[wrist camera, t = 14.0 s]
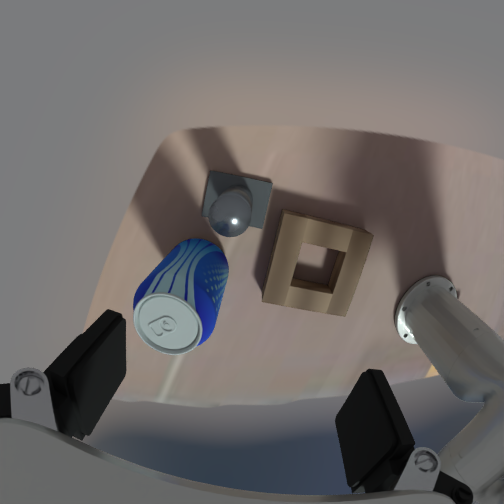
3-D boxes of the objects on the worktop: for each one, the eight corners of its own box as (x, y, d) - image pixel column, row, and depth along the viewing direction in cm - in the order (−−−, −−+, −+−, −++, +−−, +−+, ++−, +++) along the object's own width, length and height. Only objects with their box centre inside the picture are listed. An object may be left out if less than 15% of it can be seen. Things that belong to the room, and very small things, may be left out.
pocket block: (365, 230, 37) (373, 235, 35) (340, 306, 41) (345, 316, 38) (282, 209, 37) (284, 212, 34) (261, 292, 41) (261, 301, 38)
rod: (256, 188, 36) (255, 199, 26) (249, 218, 37) (246, 240, 27) (224, 182, 35) (212, 191, 26) (219, 212, 37) (205, 232, 27)
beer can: (173, 231, 38) (123, 274, 23) (234, 241, 38) (218, 294, 23) (168, 286, 41) (125, 350, 25) (224, 297, 41) (207, 370, 26)
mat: (272, 183, 36) (272, 183, 35) (262, 227, 38) (262, 228, 37) (211, 170, 36) (210, 170, 35) (202, 215, 37) (201, 216, 37)
